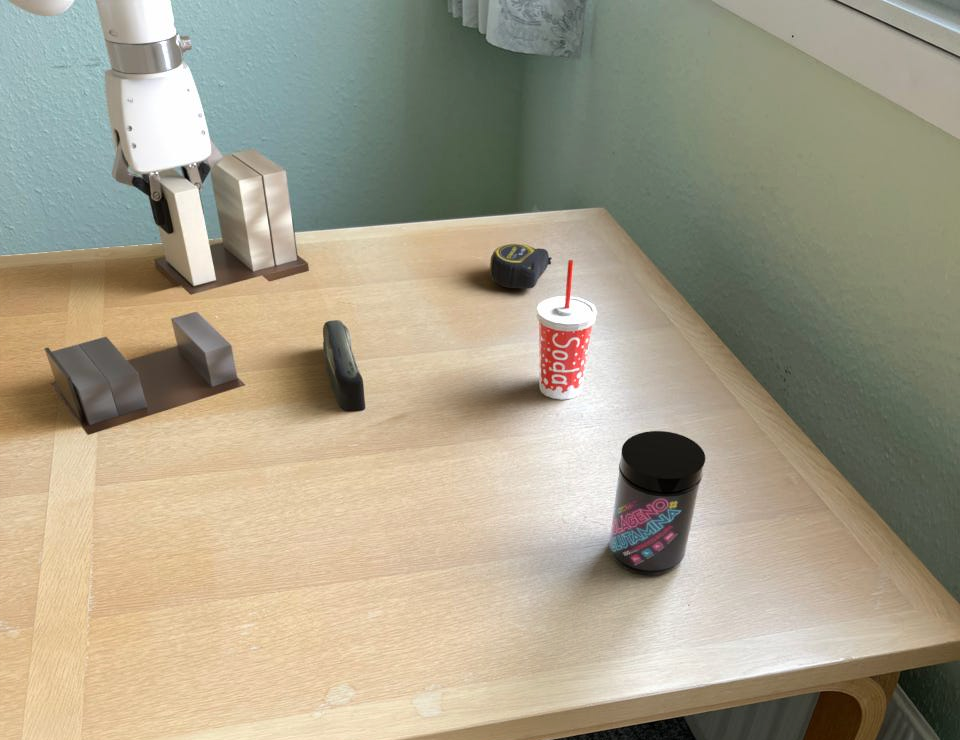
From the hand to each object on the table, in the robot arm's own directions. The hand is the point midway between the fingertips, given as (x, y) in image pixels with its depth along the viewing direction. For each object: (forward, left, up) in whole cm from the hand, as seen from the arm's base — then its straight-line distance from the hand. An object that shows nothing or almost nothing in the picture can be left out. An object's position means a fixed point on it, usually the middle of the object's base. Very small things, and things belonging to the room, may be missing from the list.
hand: (180, 225), depth 116 cm
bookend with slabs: (+5, 0, -7) cm, 9 cm away
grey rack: (-15, -23, -7) cm, 28 cm away
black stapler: (+3, -33, -7) cm, 34 cm away
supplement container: (+11, -73, -7) cm, 74 cm away
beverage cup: (+22, -47, -7) cm, 53 cm away
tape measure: (+34, -24, -7) cm, 43 cm away
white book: (0, 0, -6) cm, 6 cm away
